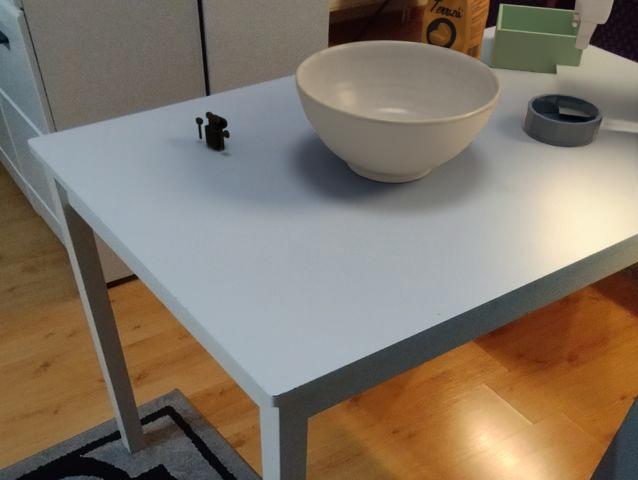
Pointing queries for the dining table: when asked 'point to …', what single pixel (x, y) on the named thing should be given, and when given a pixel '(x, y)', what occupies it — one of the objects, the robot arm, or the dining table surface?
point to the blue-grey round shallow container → (562, 120)
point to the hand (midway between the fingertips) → (578, 36)
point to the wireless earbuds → (214, 130)
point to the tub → (534, 39)
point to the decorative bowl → (396, 105)
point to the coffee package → (456, 25)
